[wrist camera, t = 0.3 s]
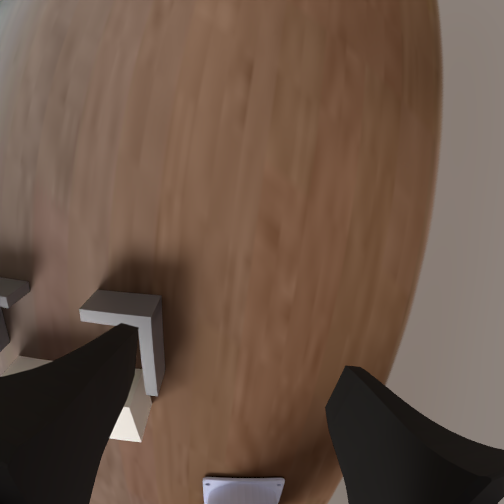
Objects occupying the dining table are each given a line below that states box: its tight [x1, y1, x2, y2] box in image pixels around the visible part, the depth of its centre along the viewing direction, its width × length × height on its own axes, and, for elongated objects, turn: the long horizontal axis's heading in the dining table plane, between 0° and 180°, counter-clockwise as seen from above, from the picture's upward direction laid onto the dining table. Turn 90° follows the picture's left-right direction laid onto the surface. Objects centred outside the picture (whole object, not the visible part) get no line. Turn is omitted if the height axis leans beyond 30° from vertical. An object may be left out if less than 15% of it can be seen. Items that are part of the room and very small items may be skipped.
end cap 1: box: [0, 277, 30, 352], centre depth 18 cm, size 6×4×3 cm
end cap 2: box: [79, 290, 165, 396], centre depth 19 cm, size 6×4×3 cm
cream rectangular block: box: [0, 356, 152, 442], centre depth 20 cm, size 4×12×4 cm, turn 91°
